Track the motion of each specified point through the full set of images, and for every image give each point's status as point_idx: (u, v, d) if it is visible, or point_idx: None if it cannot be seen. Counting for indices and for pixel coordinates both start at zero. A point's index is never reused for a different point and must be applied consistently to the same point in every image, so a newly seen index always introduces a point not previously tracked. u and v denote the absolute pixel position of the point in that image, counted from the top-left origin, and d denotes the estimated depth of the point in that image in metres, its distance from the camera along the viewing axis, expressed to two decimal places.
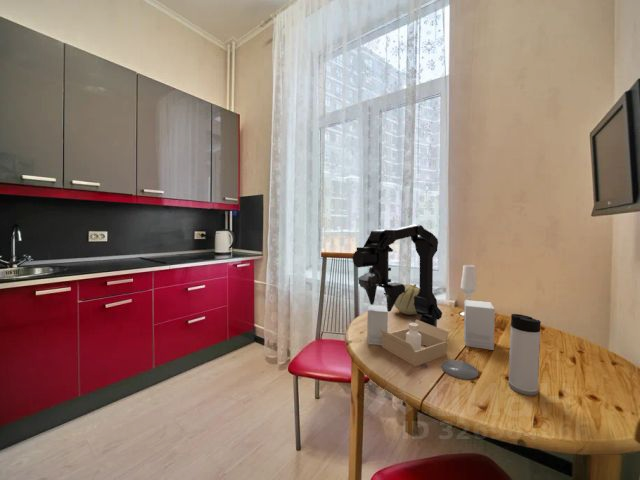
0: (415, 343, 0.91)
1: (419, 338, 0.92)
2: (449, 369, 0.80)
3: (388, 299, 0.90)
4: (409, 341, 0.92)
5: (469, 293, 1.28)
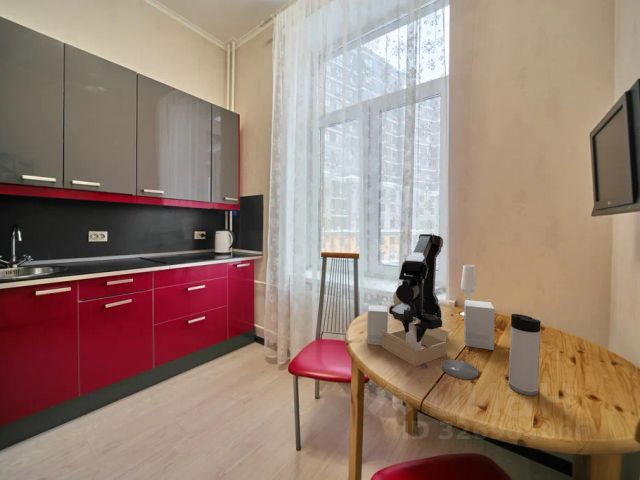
0: (415, 343, 0.91)
1: None
2: (449, 369, 0.80)
3: (418, 330, 0.89)
4: (409, 341, 0.92)
5: (469, 293, 1.28)
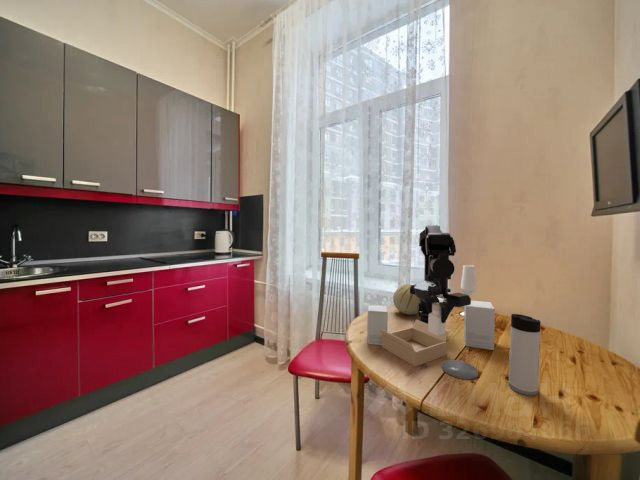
0: (439, 324, 0.83)
1: None
2: (449, 369, 0.80)
3: (443, 309, 0.82)
4: (432, 322, 0.85)
5: (469, 293, 1.28)
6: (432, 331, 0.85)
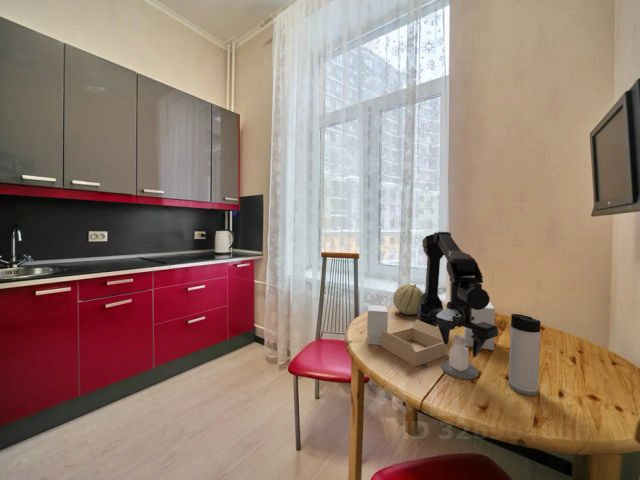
0: (462, 359, 0.79)
1: (466, 353, 0.80)
2: (449, 369, 0.80)
3: (476, 343, 0.75)
4: (454, 357, 0.80)
5: None
6: (454, 366, 0.80)
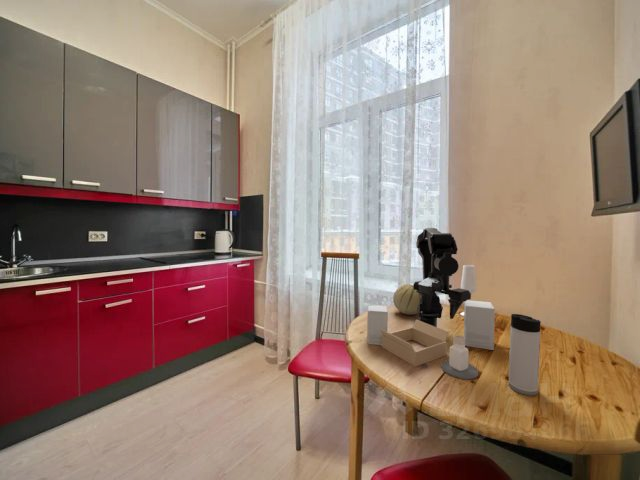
0: (462, 359, 0.79)
1: (466, 353, 0.80)
2: (449, 369, 0.80)
3: (452, 306, 0.86)
4: (454, 357, 0.80)
5: None
6: (454, 366, 0.80)
